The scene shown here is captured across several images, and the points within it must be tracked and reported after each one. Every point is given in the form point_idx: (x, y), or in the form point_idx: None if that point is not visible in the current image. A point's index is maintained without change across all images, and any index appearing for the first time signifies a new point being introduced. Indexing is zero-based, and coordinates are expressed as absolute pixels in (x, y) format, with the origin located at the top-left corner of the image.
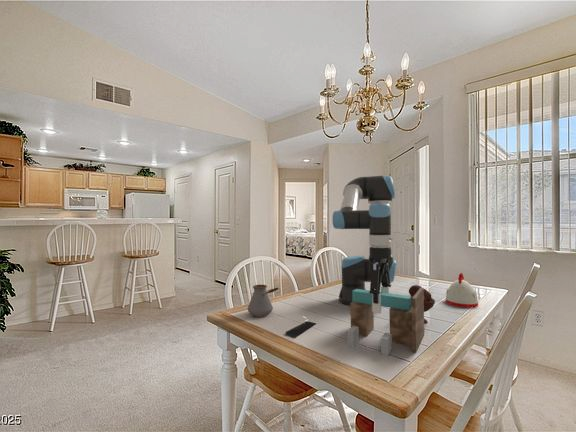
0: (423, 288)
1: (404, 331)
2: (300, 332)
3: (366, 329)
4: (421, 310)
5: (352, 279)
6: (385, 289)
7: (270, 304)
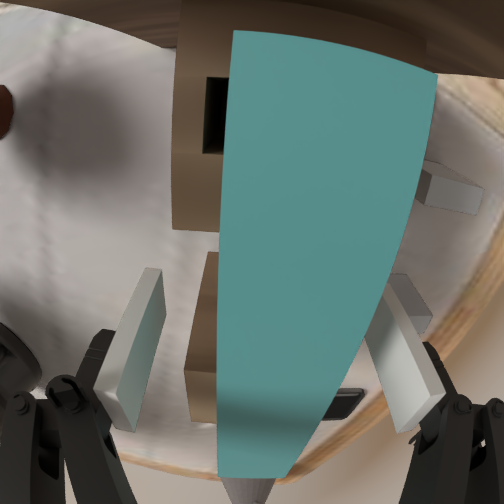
0: None
1: None
2: (332, 404)
3: None
4: None
5: None
6: (129, 392)
7: (241, 478)
